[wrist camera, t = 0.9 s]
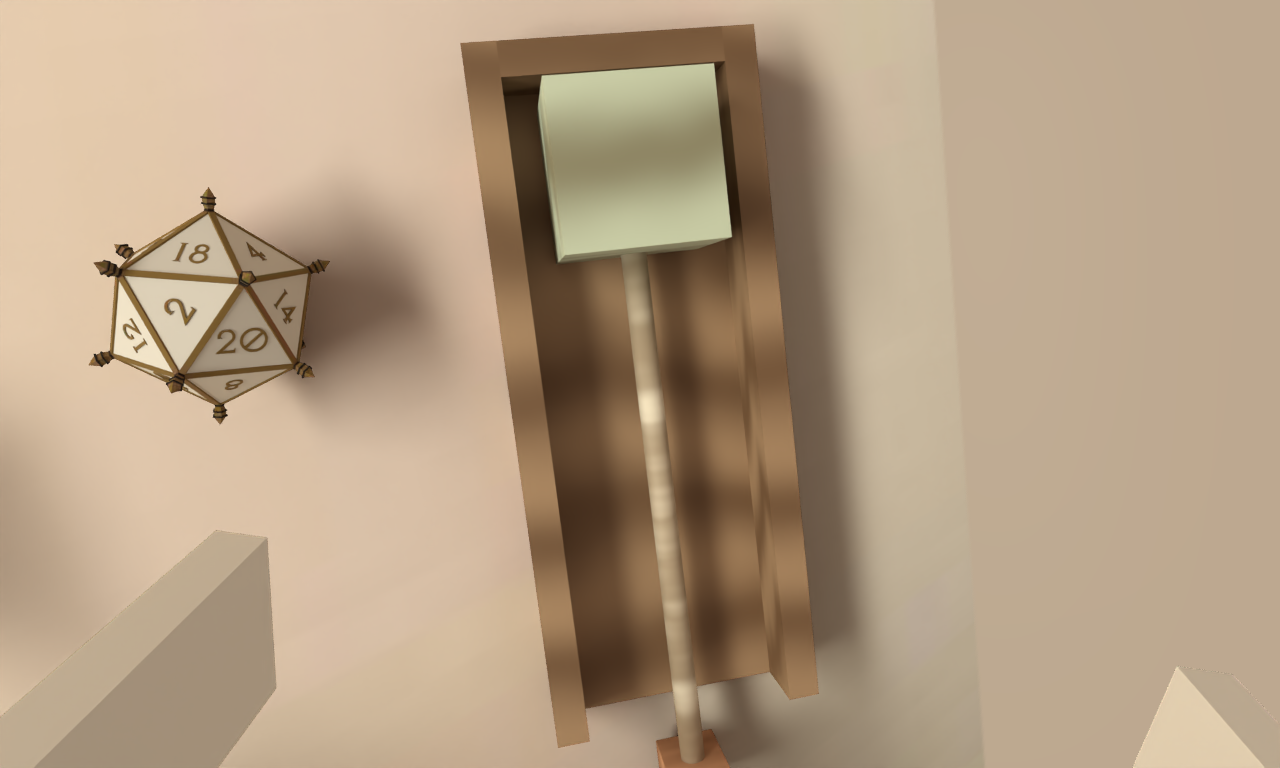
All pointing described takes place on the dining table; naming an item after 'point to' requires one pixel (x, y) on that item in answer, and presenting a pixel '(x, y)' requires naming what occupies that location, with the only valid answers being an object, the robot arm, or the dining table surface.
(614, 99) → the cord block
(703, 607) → the tray
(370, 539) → the dining table surface
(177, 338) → the game die
